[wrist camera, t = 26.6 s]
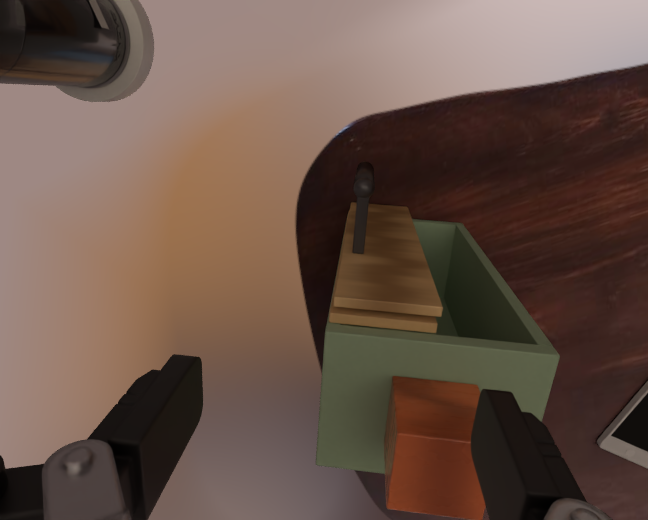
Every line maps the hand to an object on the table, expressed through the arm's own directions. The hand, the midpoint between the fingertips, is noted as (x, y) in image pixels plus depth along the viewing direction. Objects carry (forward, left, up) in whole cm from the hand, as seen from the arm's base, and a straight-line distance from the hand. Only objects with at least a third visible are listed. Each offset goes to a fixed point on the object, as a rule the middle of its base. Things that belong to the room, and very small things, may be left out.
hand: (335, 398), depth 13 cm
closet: (+5, -8, -36) cm, 37 cm away
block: (+5, -8, -10) cm, 14 cm away
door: (+2, 0, -35) cm, 35 cm away
